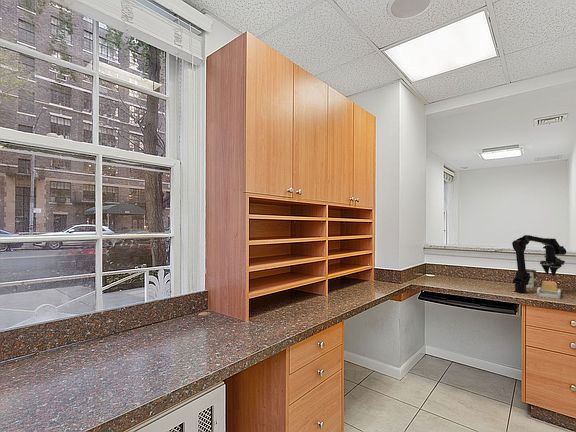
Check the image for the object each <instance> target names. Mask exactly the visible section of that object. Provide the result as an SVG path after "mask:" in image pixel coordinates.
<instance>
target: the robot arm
mask: <svg viewBox="0 0 576 432" xmlns="http://www.w3.org/2000/svg"><path fill="white" fill-rule="evenodd" d="M530 242H535V243H540V244H542V245H543V247H542V249H543V250H544V249H545V255H543V257H544V258H545V259H544V260H540V261H539V264H540V266H541V267H542V269H543V271H544V273H545V275H549V273H550V272H551V275H552V276H553V277H556V273H557V271H558V269H561V268H562V267H563V266H564V264H565V263H566V261H565V260H563V259H561V258H558V257H557V256H565V255H566V254H567V250H566V248H565V246H564V245H560V244H559V242H558V241H557V239H556V238H552V237H551V238H550V237H546V238H544V237H538V236H536V235H535V236H534V235H530V234H529V235H528V234H525V235H523V236H521V237H519V238H517V239H515V240H513V241H512V243H511V246H512V249H513V250H514V251H515V256H516V266H517V271H516V273H515V277H514V278H513V279H512V283H513V284H514V290H513V292H514V293H519V294H528V292H527V288H526V285H528V283H529V281H530V273H527V271H526V269H527V267H526V259H525V257H526V256H525V251H526V249H527V245H528V244H530ZM556 255H557V256H556Z"/></svg>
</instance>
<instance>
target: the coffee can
mask: <svg viewBox="0 0 576 432" xmlns="http://www.w3.org/2000/svg"><path fill="white" fill-rule="evenodd" d="M526 271H527V273H530V281H529V283H528V285H526V289H528V288H529V289H536V288H537V289H538V287H537V269H527V268H526Z"/></svg>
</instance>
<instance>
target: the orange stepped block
mask: <svg viewBox="0 0 576 432" xmlns="http://www.w3.org/2000/svg"><path fill="white" fill-rule="evenodd" d="M541 284H542V286H541V287H542V290H551V291H557V289H558V288H557V287H558V286H557V285H558V284H557V282H556V281H549V280H543V281H542V283H541Z"/></svg>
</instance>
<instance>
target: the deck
mask: <svg viewBox="0 0 576 432" xmlns="http://www.w3.org/2000/svg"><path fill="white" fill-rule="evenodd" d="M561 294H562V289H561V288H557V291H551V290H542V286H538V287H537V289H536V296H537V297H544V298H551V299H552V298H553V299H559V300H561V296H562V295H561Z"/></svg>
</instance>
